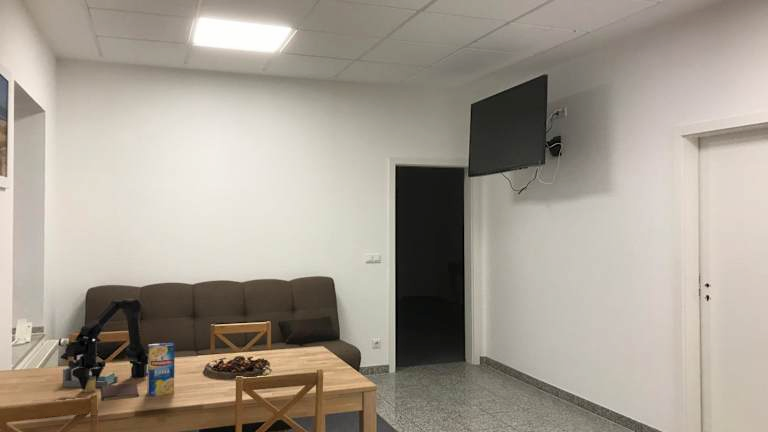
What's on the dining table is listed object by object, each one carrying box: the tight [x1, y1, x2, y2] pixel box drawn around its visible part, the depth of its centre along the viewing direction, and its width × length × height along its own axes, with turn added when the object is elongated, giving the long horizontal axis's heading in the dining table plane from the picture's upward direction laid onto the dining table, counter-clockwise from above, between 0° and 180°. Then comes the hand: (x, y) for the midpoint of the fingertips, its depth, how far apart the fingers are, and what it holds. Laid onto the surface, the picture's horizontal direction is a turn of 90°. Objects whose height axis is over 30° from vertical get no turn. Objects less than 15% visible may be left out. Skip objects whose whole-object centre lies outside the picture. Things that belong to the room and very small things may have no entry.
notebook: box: [101, 382, 140, 401], centre depth 272 cm, size 15×20×2 cm
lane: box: [62, 367, 119, 388], centre depth 286 cm, size 21×10×8 cm, turn 88°
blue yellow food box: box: [146, 342, 176, 397], centre depth 271 cm, size 7×11×22 cm, turn 117°
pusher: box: [103, 371, 115, 385], centre depth 285 cm, size 1×8×4 cm, turn 178°
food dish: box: [201, 355, 271, 380], centre depth 312 cm, size 35×33×8 cm
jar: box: [81, 375, 97, 393], centre depth 275 cm, size 6×6×6 cm
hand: (89, 386), depth 275 cm, fingers open, 9 cm apart
